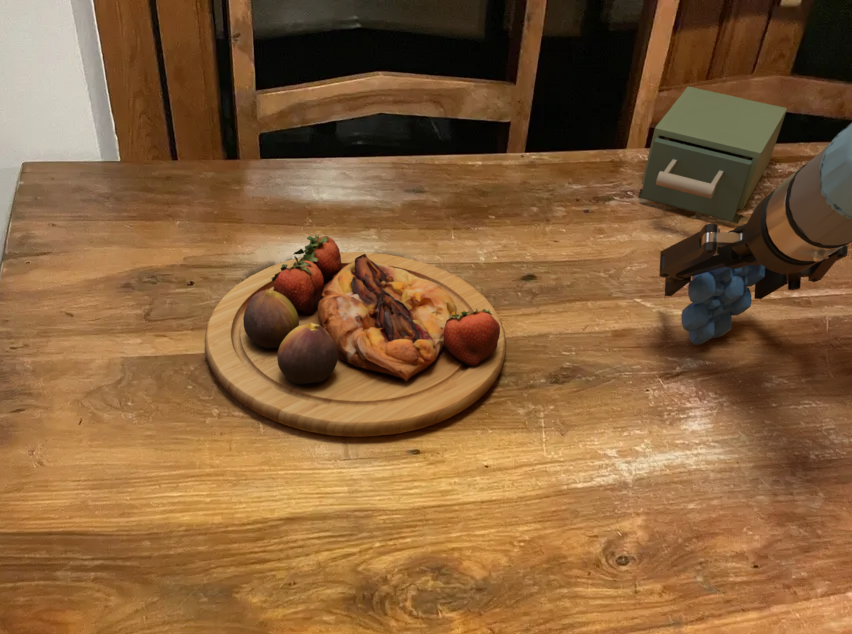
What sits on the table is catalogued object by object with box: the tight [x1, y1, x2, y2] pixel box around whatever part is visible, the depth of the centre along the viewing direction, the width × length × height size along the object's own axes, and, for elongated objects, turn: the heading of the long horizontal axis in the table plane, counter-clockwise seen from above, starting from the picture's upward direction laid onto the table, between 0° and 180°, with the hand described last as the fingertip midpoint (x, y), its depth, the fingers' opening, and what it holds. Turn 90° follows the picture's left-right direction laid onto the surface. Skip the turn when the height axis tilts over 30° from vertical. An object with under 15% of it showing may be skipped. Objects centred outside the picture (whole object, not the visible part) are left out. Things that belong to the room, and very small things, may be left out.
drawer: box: [641, 137, 753, 222], centre depth 122 cm, size 21×12×7 cm, turn 153°
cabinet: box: [638, 86, 788, 224], centre depth 125 cm, size 16×14×9 cm
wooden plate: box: [204, 234, 507, 437], centre depth 98 cm, size 32×32×8 cm
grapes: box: [681, 256, 766, 346], centre depth 101 cm, size 12×7×12 cm, turn 127°
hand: (713, 285), depth 104 cm, fingers closed on grapes, 9 cm apart
